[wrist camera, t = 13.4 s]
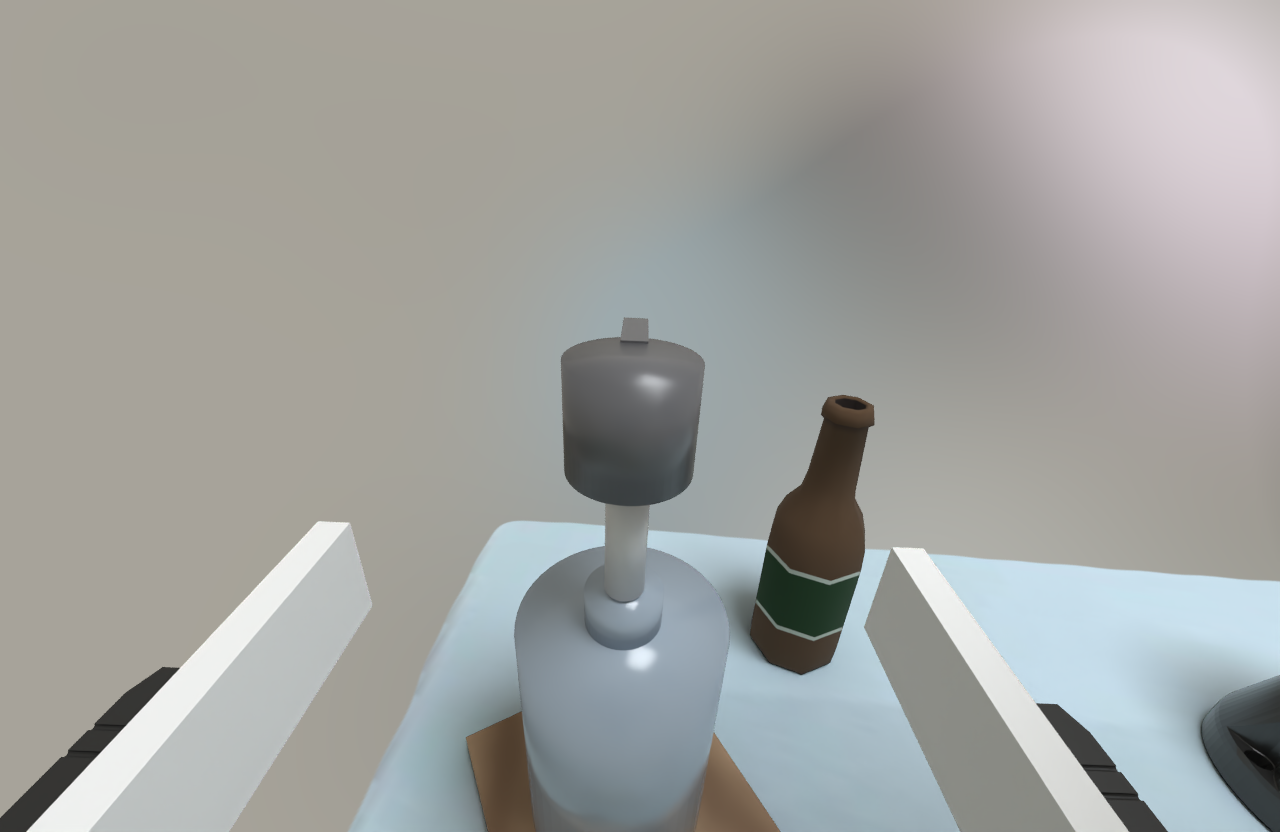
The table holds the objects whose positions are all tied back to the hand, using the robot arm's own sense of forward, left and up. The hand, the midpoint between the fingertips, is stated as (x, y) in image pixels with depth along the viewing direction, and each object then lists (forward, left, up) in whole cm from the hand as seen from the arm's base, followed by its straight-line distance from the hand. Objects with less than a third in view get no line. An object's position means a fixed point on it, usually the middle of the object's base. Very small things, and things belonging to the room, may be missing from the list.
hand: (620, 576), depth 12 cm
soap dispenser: (-5, -8, -28) cm, 29 cm away
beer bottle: (-25, -12, -29) cm, 40 cm away
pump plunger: (-5, -9, -10) cm, 14 cm away
